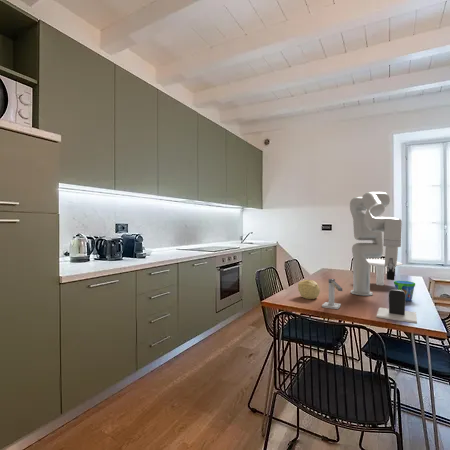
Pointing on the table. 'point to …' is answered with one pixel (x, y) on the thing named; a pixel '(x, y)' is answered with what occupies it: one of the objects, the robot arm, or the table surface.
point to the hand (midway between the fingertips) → (390, 277)
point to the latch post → (331, 299)
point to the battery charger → (397, 302)
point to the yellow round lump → (308, 289)
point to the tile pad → (397, 315)
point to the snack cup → (405, 288)
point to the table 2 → (380, 269)
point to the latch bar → (334, 284)
